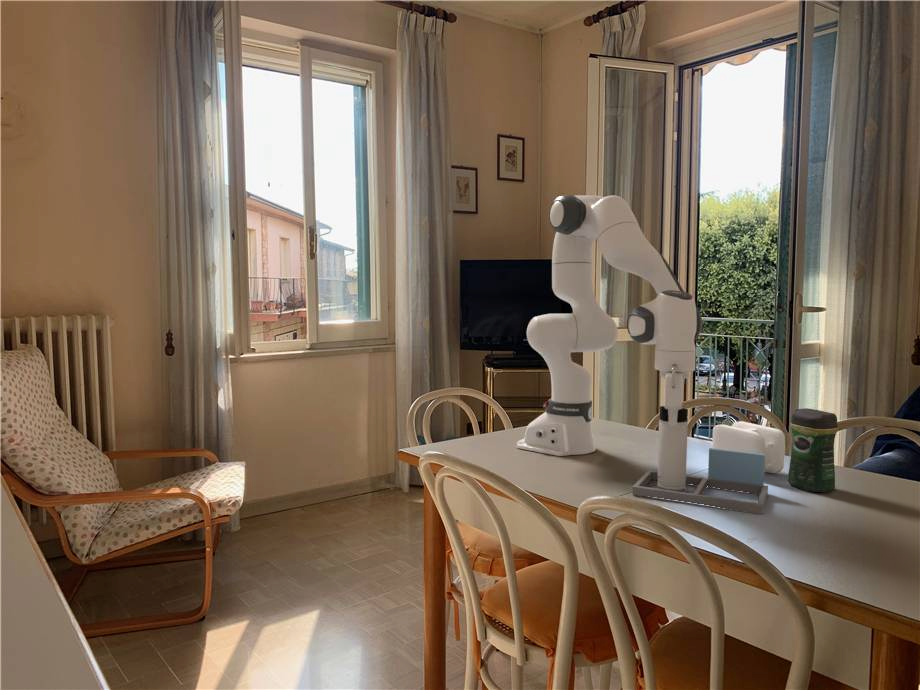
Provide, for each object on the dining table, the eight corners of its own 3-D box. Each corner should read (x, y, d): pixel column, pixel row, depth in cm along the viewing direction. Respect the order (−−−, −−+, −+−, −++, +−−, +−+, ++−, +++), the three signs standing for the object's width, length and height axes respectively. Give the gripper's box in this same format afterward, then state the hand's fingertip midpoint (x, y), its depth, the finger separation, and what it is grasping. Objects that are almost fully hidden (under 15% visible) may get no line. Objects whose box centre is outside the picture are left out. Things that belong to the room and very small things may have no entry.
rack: (632, 495, 157) (633, 456, 156) (649, 476, 171) (650, 441, 170) (761, 514, 144) (763, 472, 143) (768, 493, 158) (769, 454, 157)
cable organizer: (708, 466, 180) (709, 422, 179) (736, 461, 185) (737, 418, 184) (756, 481, 167) (759, 434, 166) (785, 475, 172) (787, 429, 171)
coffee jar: (841, 491, 159) (845, 412, 158) (817, 495, 156) (821, 414, 154) (805, 480, 168) (808, 405, 166) (781, 484, 165) (785, 407, 163)
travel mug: (651, 490, 160) (653, 405, 158) (665, 484, 164) (668, 401, 162) (676, 496, 155) (679, 409, 153) (690, 490, 160) (693, 405, 158)
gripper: (689, 368, 146) (687, 432, 147) (689, 357, 165) (687, 414, 167) (658, 367, 148) (656, 430, 149) (661, 356, 167) (660, 413, 169)
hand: (672, 422), depth 158 cm, fingers closed on travel mug, 6 cm apart
